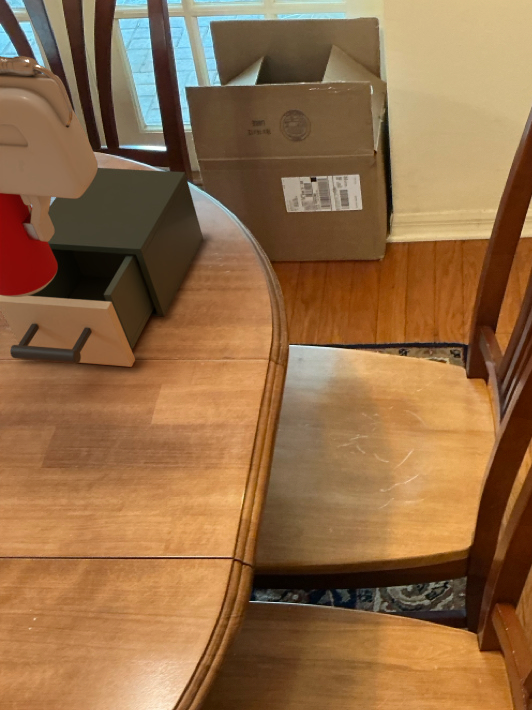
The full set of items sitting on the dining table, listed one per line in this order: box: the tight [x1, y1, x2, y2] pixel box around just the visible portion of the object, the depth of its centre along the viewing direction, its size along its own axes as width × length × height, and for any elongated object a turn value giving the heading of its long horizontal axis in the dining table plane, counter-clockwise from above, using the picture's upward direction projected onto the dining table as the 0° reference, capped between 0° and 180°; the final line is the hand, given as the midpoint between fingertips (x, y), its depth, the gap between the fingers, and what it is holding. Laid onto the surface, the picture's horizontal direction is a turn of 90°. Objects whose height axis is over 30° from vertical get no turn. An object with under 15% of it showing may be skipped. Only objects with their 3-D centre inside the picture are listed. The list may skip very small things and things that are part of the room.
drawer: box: [0, 249, 155, 368], centre depth 85 cm, size 19×12×8 cm, turn 172°
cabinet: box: [48, 167, 204, 317], centre depth 92 cm, size 16×14×10 cm
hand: (0, 233), depth 63 cm, fingers closed on beverage can, 6 cm apart
